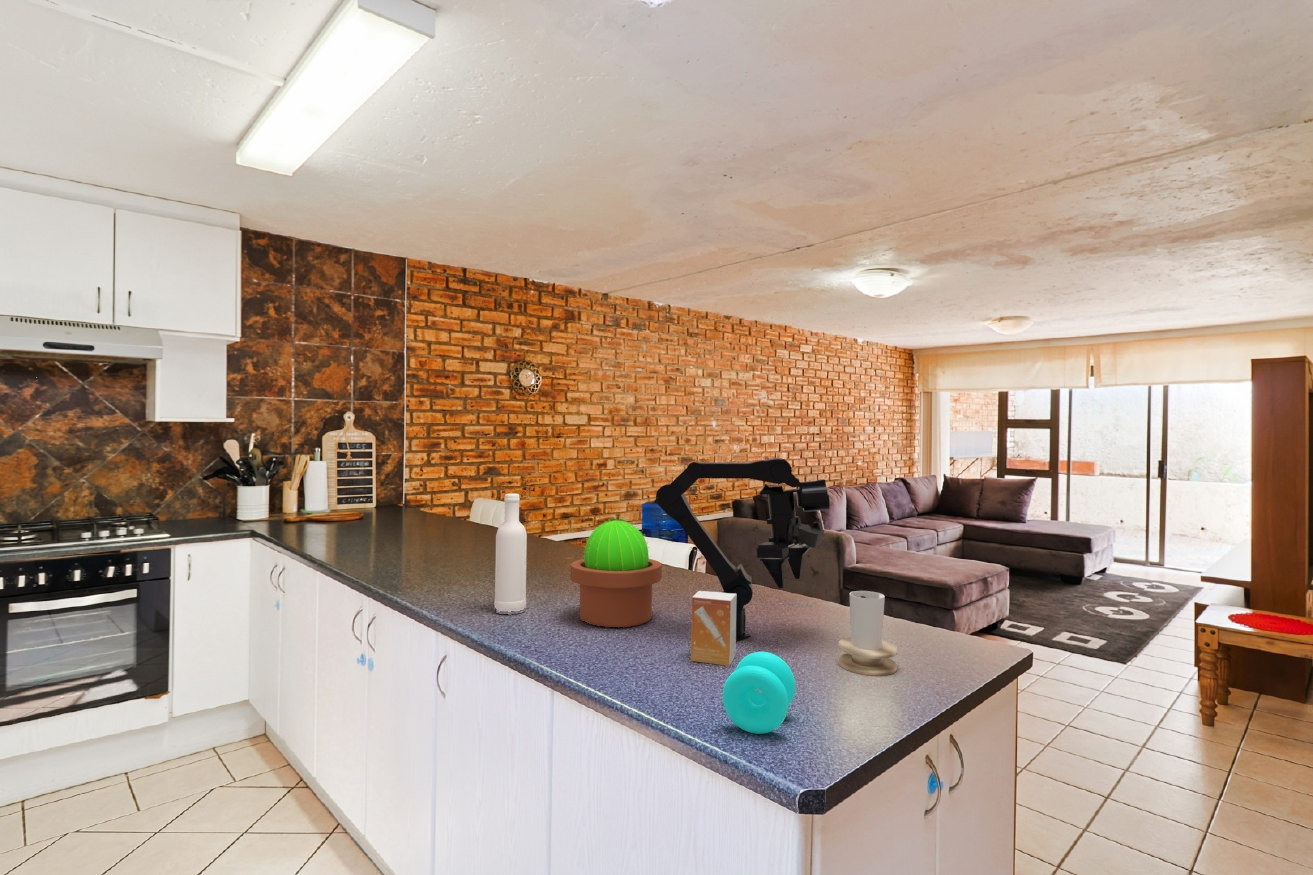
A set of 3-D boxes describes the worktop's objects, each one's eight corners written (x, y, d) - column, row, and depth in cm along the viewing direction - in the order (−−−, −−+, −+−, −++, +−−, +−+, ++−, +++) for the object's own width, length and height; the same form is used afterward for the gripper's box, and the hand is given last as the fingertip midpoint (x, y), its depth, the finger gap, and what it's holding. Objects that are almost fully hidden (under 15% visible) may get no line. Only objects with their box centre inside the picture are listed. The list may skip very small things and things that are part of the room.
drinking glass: (843, 645, 127) (844, 595, 127) (856, 637, 132) (856, 589, 132) (877, 652, 123) (877, 600, 123) (888, 644, 128) (889, 594, 128)
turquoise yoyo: (720, 730, 97) (720, 664, 98) (735, 705, 107) (736, 645, 107) (786, 742, 94) (786, 674, 94) (796, 715, 103) (797, 653, 103)
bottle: (501, 606, 168) (503, 492, 169) (530, 608, 167) (532, 493, 168) (489, 614, 160) (491, 494, 161) (519, 616, 159) (521, 495, 160)
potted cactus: (627, 637, 144) (629, 525, 144) (552, 621, 155) (554, 518, 155) (676, 615, 162) (677, 516, 162) (606, 602, 174) (607, 510, 174)
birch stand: (878, 679, 119) (878, 658, 119) (827, 664, 128) (827, 643, 128) (907, 666, 127) (907, 646, 127) (857, 652, 135) (857, 633, 135)
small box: (690, 661, 128) (691, 596, 128) (697, 652, 134) (698, 589, 134) (730, 666, 125) (731, 600, 126) (736, 656, 131) (737, 592, 132)
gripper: (800, 518, 131) (807, 594, 131) (832, 507, 147) (839, 575, 146) (751, 519, 138) (758, 592, 137) (786, 508, 153) (793, 574, 153)
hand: (789, 583), depth 143 cm, fingers open, 9 cm apart
